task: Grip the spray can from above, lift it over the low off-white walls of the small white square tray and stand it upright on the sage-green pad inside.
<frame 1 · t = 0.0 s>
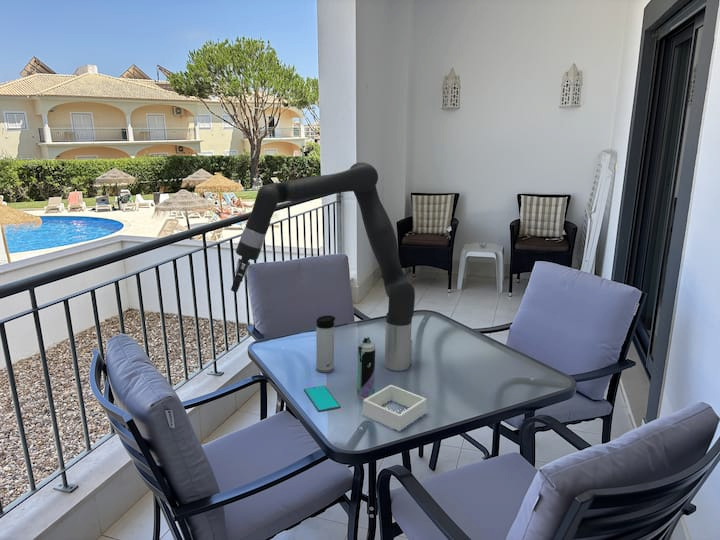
hand: (234, 287, 169), 31 cm above the table, tool tilted 20°, fingers open, 8 cm apart
spray can: (365, 396, 163), on the table
smartphone: (321, 400, 161), on the table
white square tray: (394, 414, 152), on the table
travel mug: (325, 369, 181), on the table
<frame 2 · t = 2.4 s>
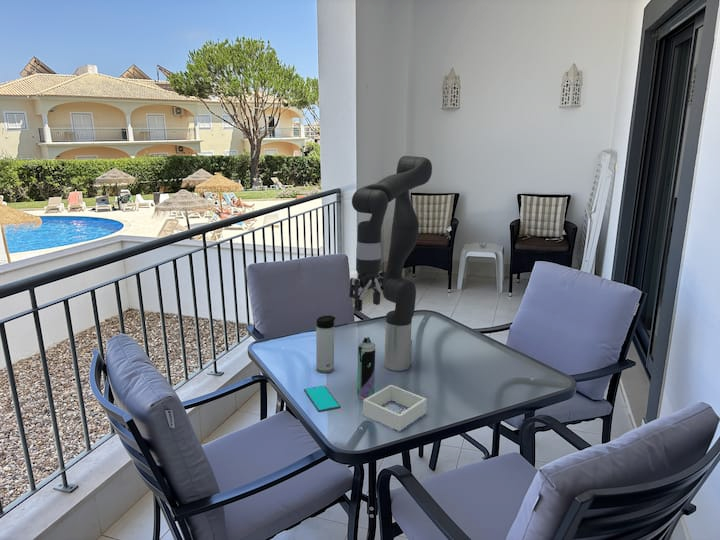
hand: (367, 307, 156), 30 cm above the table, tool pointing down, fingers open, 8 cm apart
nothing on the table moved.
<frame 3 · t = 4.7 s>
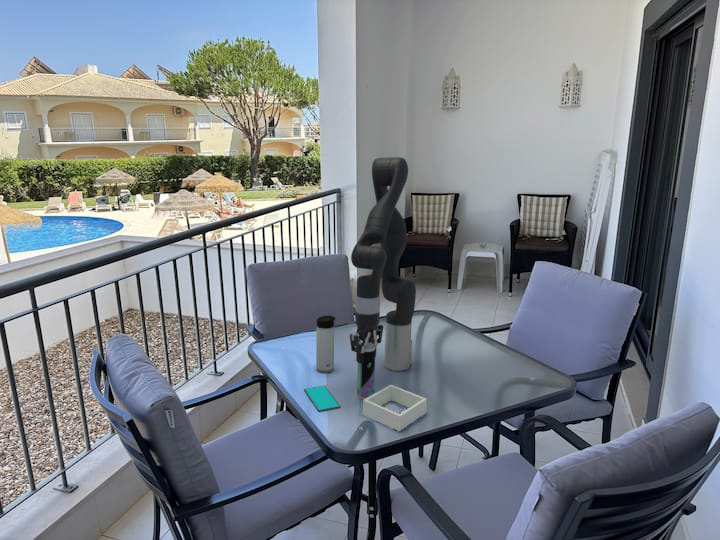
hand: (366, 359, 160), 13 cm above the table, tool pointing down, fingers closed on spray can, 5 cm apart
spray can: (365, 396, 163), on the table, touching gripper
everything else where it was.
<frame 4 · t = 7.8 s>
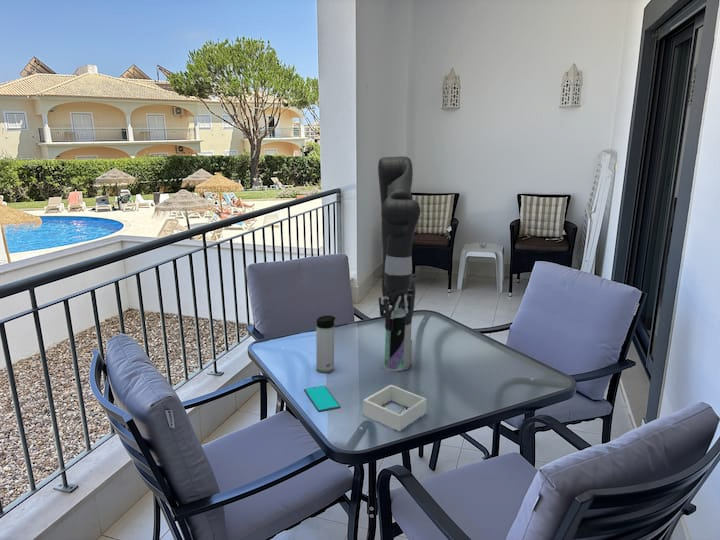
hand: (395, 327, 146), 28 cm above the table, tool pointing down, fingers closed on spray can, 5 cm apart
spray can: (393, 368, 149), point 15 cm above the table, touching gripper
everything else where it was.
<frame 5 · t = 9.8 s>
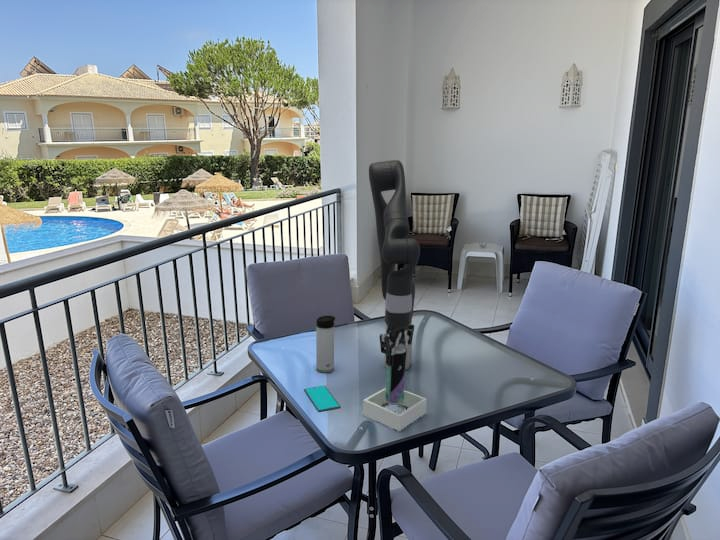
hand: (396, 362, 148), 17 cm above the table, tool pointing down, fingers closed on spray can, 5 cm apart
spray can: (394, 401, 151), point 4 cm above the table, touching gripper
everything else where it was.
when the fingers open (14 cm above the table, at t = 11.0 s): spray can drops 1 cm, resting on white square tray.
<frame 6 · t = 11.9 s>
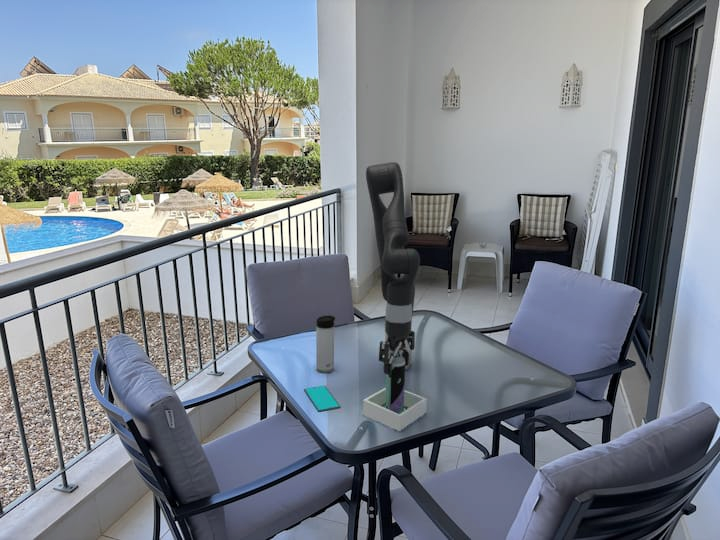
hand: (396, 369, 149), 15 cm above the table, tool pointing down, fingers open, 8 cm apart
spray can: (394, 413, 152), resting on white square tray
everything else where it was.
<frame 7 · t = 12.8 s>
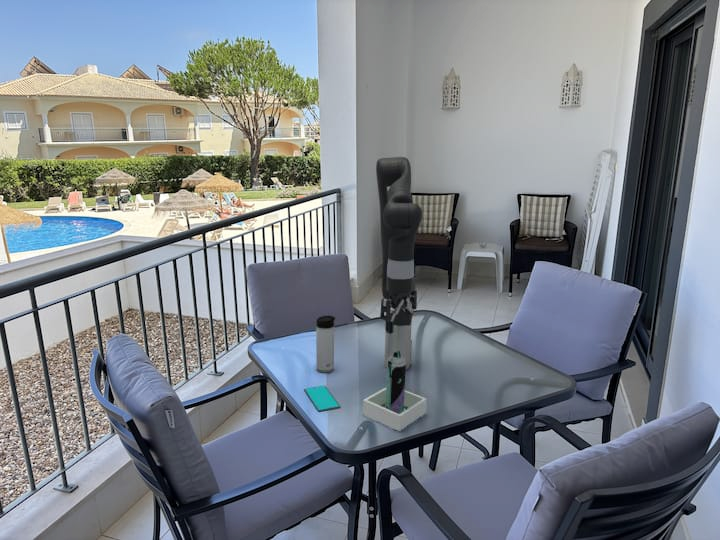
hand: (398, 328, 145), 28 cm above the table, tool pointing down, fingers open, 8 cm apart
nothing on the table moved.
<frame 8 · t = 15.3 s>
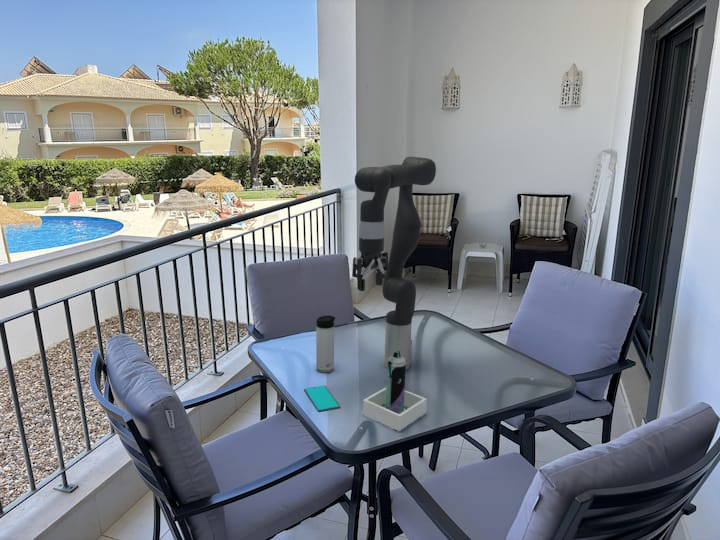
hand: (370, 287, 155), 36 cm above the table, tool pointing down, fingers open, 8 cm apart
nothing on the table moved.
at the end: spray can inside the target area on the white square tray (0.1 cm from its centre), point 0.1 cm above the white square tray's base; spray can tilted 0°; the gripper is holding nothing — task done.
